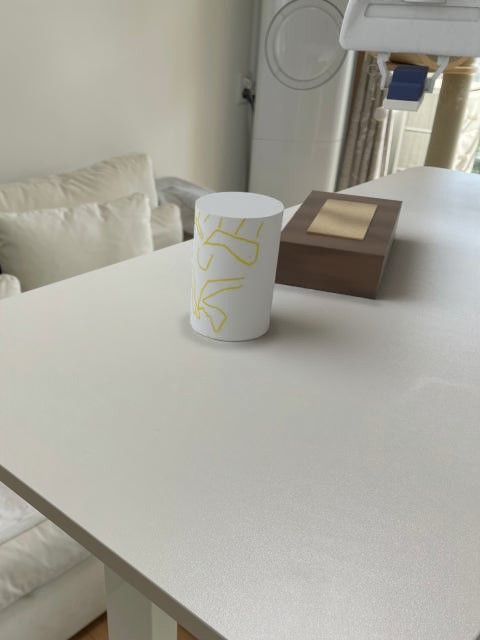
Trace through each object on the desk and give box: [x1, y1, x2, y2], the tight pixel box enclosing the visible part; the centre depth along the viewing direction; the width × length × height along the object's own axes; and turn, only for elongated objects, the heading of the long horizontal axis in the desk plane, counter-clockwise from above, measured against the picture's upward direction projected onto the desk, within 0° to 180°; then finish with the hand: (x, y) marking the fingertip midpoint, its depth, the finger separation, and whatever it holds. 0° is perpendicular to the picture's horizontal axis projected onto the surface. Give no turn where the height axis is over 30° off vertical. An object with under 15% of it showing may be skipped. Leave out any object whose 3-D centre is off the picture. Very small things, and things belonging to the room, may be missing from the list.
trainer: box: [381, 64, 430, 113], centre depth 90 cm, size 11×5×4 cm, turn 157°
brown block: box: [274, 189, 403, 300], centre depth 81 cm, size 22×12×5 cm, turn 158°
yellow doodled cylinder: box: [189, 191, 285, 342], centre depth 63 cm, size 8×8×12 cm
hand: (405, 91), depth 91 cm, fingers closed on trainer, 4 cm apart
